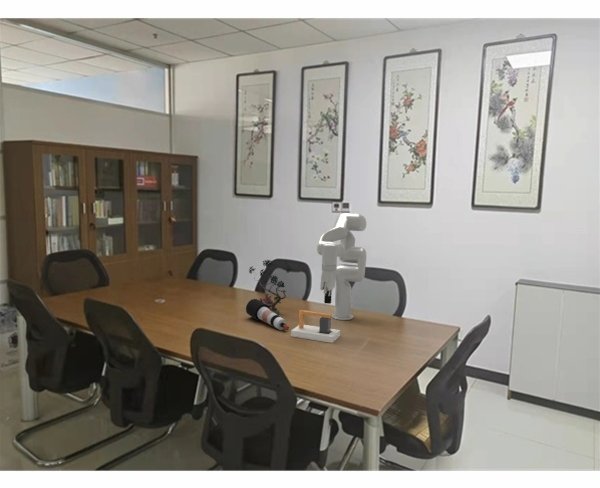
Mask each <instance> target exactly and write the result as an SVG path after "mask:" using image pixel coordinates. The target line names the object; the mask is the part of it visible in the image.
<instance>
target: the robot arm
mask: <svg viewBox="0 0 600 488" xmlns="http://www.w3.org/2000/svg"><path fill="white" fill-rule="evenodd" d="M366 227H367V219H366V218H365V216H363V215H362V214H360V213H353V212H342V213H339V214H338V215H337V217H336V219H335V221H334V224H333V227H332V228H331V229H329V230H328V231H326V232H324V233H323V234H322V235H321V236H320V238H319V241H318V243H317V246H316V247H317V248H316V251H317V253H318V255H320V256H321V277H320V287H319V288H320V289H319V290H320V291H323V295H324V297H323V298H324V300H323V303H324V304H328V305H329V304H332V295H333V289H335V290H334V291H335V292H334V313H331V314H332V319H335V320H337V321H338V320H339V321H348V320H352V319H354V315H353V314H352V295H353V293H352V291H353V290H352V286H351V284H350V282H353V283H354V282H355V283H362V282H363V281H364V280H365V276H366V275H365V273H366V263H367V251H366V249H365V248H364V247H362V246H359V247H358V246H355V244H356V238H355V236H354V234H353V233H352V231H353V232H363V231H365V229H366ZM338 241H339V242H338ZM338 259H339V261H341V262H342V263H341V264H337V263H338V262H337V261H338ZM343 263H344V264H343ZM346 263H348V264H346ZM350 263H351V264H350Z"/></svg>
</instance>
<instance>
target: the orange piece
mask: <svg viewBox="0 0 600 488" xmlns="http://www.w3.org/2000/svg"><path fill="white" fill-rule="evenodd" d="M298 313H299V314H298V315H299V317H298V318H299V319H298V325H299V328H304V325H305V316H312V317H317V318H318V317H319V318H321V317H325V318H331V319H333V317H332V314H333V313H324V312H319V311H317V312H316V311H310V310H304V309H299V311H298Z"/></svg>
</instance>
